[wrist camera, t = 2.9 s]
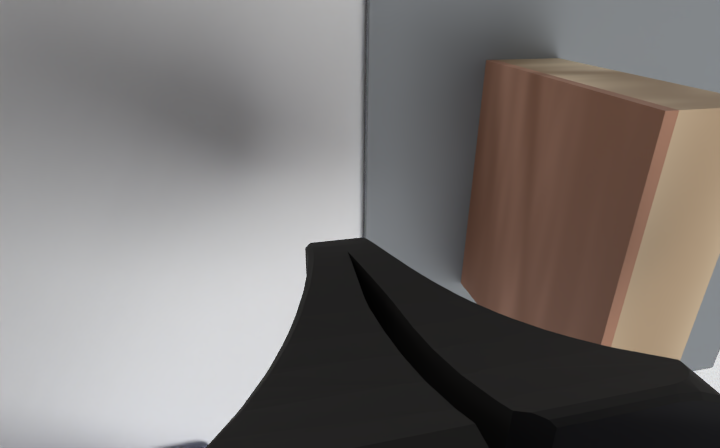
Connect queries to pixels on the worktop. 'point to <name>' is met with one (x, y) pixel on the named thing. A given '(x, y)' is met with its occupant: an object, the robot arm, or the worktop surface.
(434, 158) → the mat
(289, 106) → the worktop surface
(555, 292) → the oak tile
